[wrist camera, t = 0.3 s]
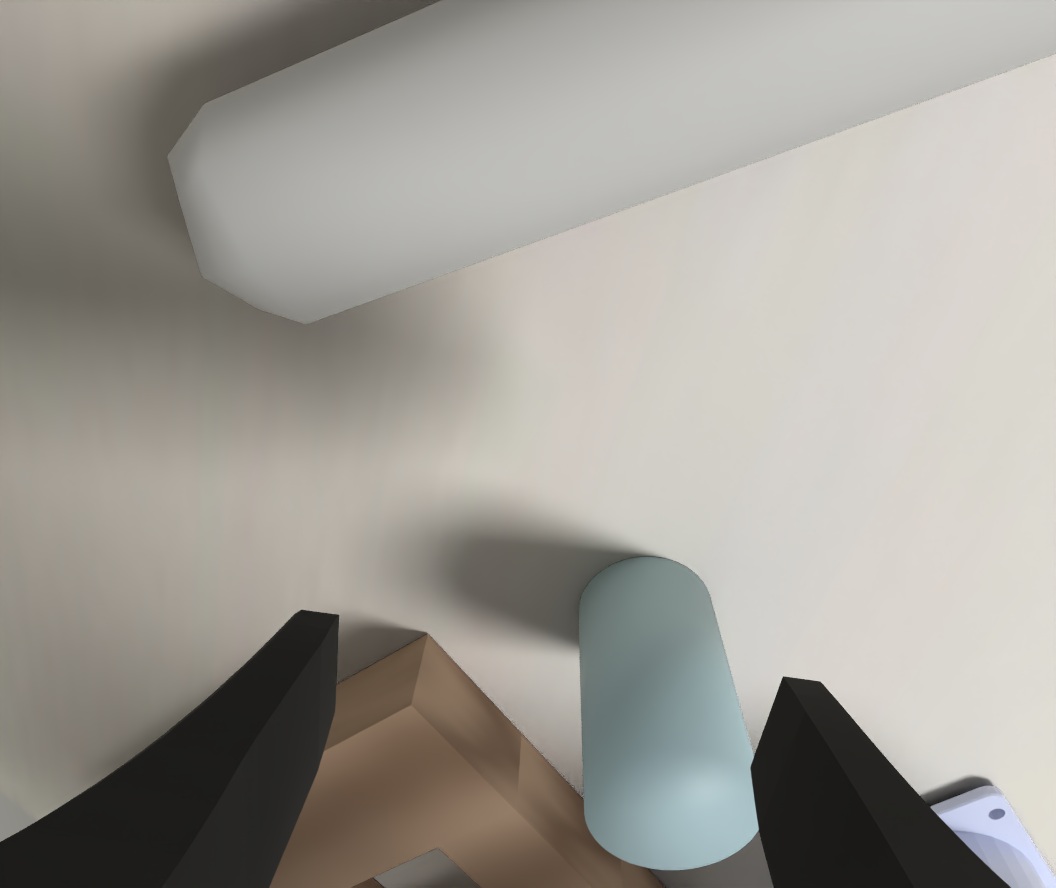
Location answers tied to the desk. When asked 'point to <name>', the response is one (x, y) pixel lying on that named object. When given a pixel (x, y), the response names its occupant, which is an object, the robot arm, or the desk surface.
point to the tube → (543, 125)
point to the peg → (661, 720)
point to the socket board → (439, 790)
